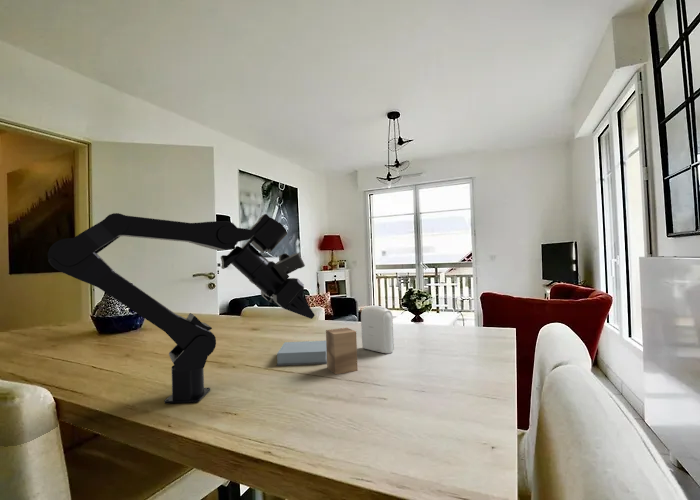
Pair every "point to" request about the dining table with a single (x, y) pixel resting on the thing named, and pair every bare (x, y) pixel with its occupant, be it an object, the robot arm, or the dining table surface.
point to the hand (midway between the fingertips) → (307, 314)
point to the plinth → (302, 353)
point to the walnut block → (341, 350)
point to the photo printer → (377, 329)
